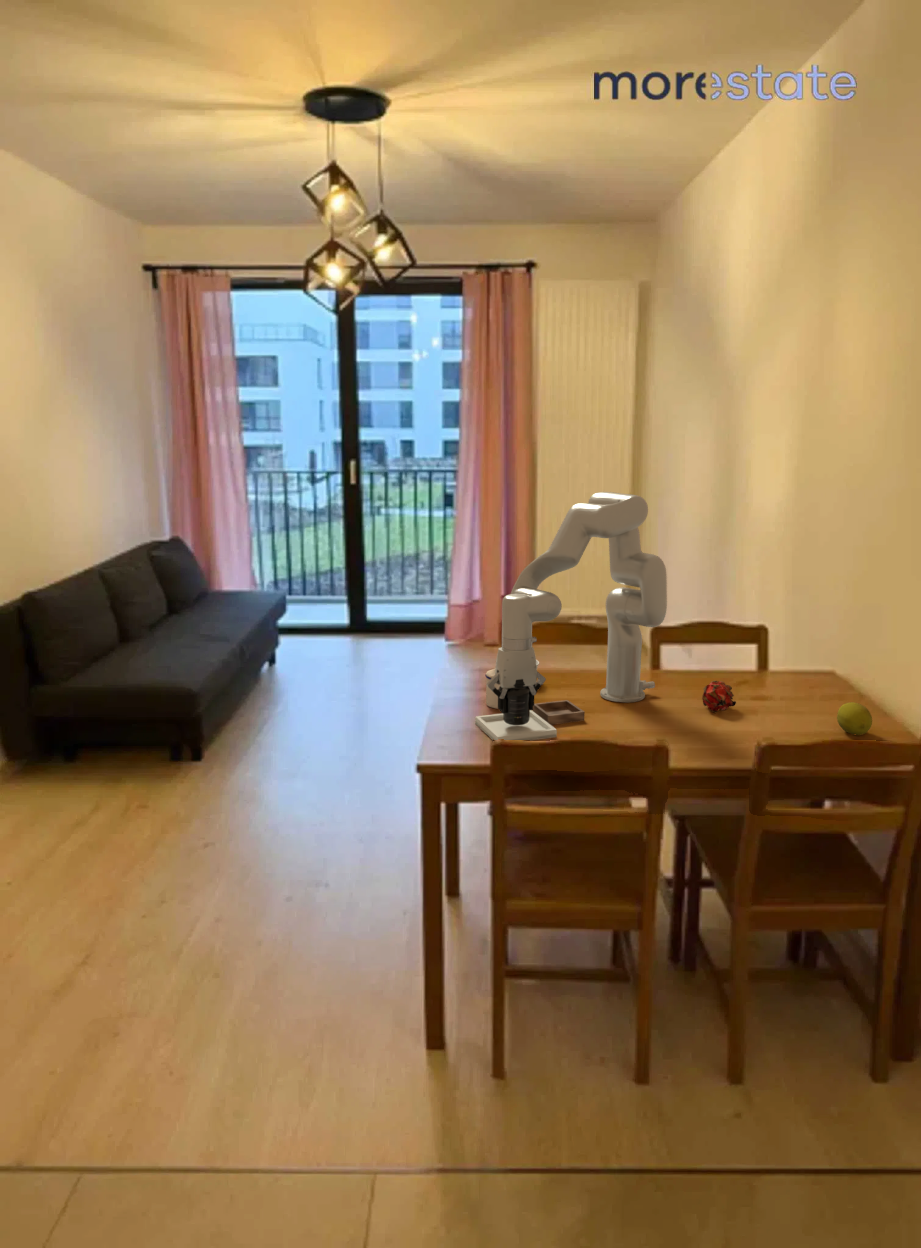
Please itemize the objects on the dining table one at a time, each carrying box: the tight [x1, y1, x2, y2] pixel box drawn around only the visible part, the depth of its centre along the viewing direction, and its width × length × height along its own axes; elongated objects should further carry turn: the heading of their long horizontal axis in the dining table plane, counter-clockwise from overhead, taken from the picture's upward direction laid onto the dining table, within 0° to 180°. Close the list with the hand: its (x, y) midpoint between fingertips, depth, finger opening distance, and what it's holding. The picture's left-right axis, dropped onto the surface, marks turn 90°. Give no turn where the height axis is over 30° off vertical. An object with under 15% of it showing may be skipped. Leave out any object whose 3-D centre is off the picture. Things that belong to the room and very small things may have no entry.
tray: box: [474, 710, 558, 741], centre depth 235 cm, size 16×16×2 cm
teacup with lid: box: [485, 667, 500, 710], centre depth 256 cm, size 12×9×12 cm
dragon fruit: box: [701, 680, 737, 714], centre depth 251 cm, size 8×8×12 cm
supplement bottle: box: [503, 679, 530, 725], centre depth 234 cm, size 7×7×12 cm
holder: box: [532, 699, 586, 726], centre depth 245 cm, size 10×10×2 cm
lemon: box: [836, 701, 873, 736], centre depth 233 cm, size 11×8×8 cm
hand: (516, 709), depth 234 cm, fingers closed on supplement bottle, 6 cm apart
